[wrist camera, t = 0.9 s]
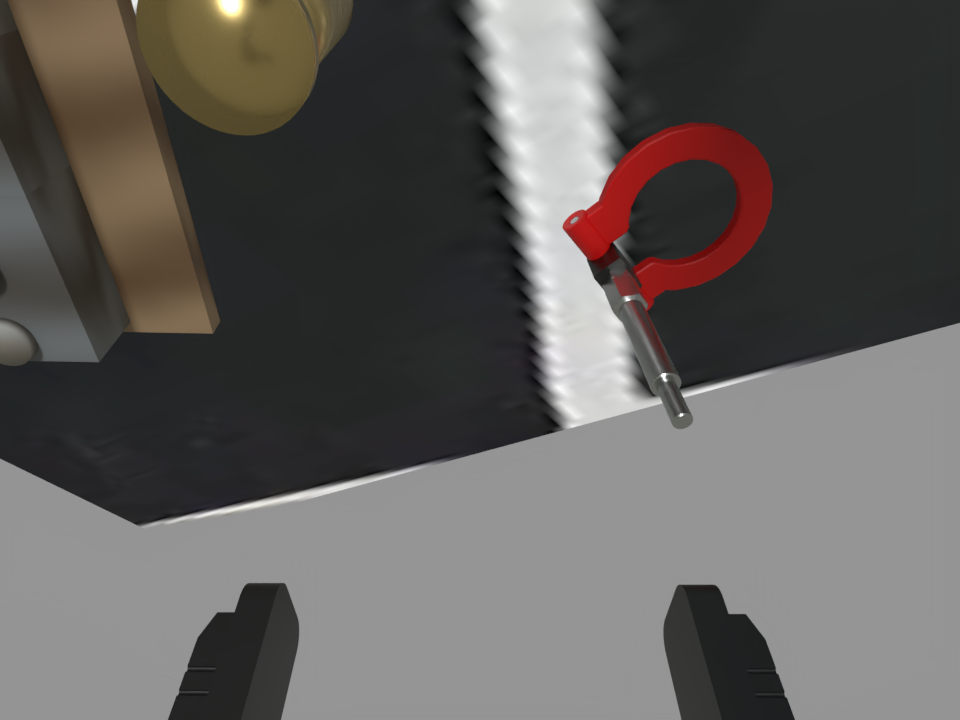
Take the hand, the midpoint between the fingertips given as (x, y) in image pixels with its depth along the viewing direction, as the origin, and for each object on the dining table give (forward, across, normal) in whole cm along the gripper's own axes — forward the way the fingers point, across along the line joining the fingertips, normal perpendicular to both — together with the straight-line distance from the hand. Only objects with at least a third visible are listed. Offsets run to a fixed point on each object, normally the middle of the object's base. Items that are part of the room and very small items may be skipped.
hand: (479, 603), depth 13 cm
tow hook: (+22, -10, +2) cm, 24 cm away
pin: (+22, +7, -8) cm, 24 cm away
